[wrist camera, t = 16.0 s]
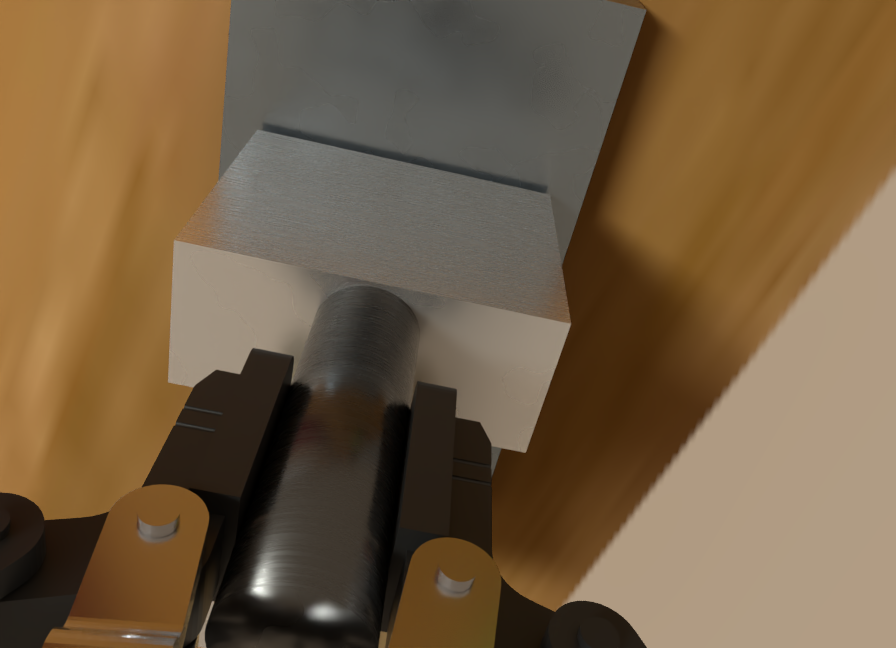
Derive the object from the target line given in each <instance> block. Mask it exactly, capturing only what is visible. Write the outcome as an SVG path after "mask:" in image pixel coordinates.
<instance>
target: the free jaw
mask: <svg viewBox="0 0 896 648" xmlns="http://www.w3.org/2000/svg"><path fill="white" fill-rule="evenodd" d="M570 326H571V319H570V313H569V307H568V301H567V295H566V289H565V283H564V277H563V271H562V265H561V259H560V253H559V246H558V240H557V234H556V228H555V222H554V216H553V210H552V204H551V198H550V194H545V193H541V192H536V191H532V190H527V189H523V188H518V187H514V186H509V185H505V184H500V183H496V182H491V181H487V180H482V179H478V178H474V177H469V176H465V175H460V174H456V173H451V172H447V171H442V170H438V169H433V168H429V167H424V166H420V165H415V164H411V163H406V162H402V161H397V160H393V159H388V158H384V157H379V156H375V155H370V154H366V153H361V152H357V151H352V150H348V149H343V148H339V147H334V146H330V145H326V144H321V143H317V142H312V141H308V140H303V139H299V138H294V137H290V136H285V135H281V134H276V133H272V132H267V131H263V130H257V131H256V132H255V134H254V135H253V136H252V138H251V139H250V140H249V142H248V143H247V144H246V146H245V147H244V148H243V149H242V151H241V152H240V153H239V155H238V156H237V157H236V159H235V160H234V161H233V163H232V164H231V165H230V167H229V168H228V169H227V171H226V172H225V173H224V175H223V176H222V177H221V179H220V180H219V181H218V183H217V184H216V185H215V187H214V188H213V189H212V191H211V192H210V193H209V195H208V196H207V197H206V199H205V200H204V201H203V202H202V204H201V205H200V206H199V208H198V209H197V210H196V212H195V213H194V214H193V216H192V217H191V218H190V220H189V221H188V222H187V224H186V225H185V226H184V228H183V229H182V230H181V232H180V233H179V234H178V236H177V237H176V238H175V240H174V253H173V277H172V302H171V326H170V350H169V374H168V382H169V383H174V384H179V385H185V386H190V387H194V386H195V385H196V384H197V383H199V382H200V381H201V380H203V379H204V378H205V377H207V376H208V375H210V374H211V373H212V372H214V371H215V370H221V371H226V372H231V373H236V374H240V373H241V371H242V369H243V367H244V365H245V362H246V360H247V358H248V356H249V353H250V351H251V350H252V348H257V349H262V350H267V351H272V352H277V353H282V354H287V355H292V356H294V366H293V373H292V380H291V386H290V389H289V392H288V395H287V398H286V401H285V403H284V406H283V409H282V412H281V415H280V418H279V420H278V423H277V426H276V429H275V432H274V435H273V438H272V440H271V443H270V446H269V449H268V452H267V455H266V457H265V460H264V463H263V466H262V469H261V472H260V474H259V477H258V480H257V483H256V486H255V489H254V492H253V494H252V497H251V500H250V503H249V506H248V509H247V511H246V514H245V517H244V520H243V523H242V526H241V528H240V531H239V534H238V537H237V540H236V543H235V545H234V548H233V551H232V553H231V556H230V559H229V562H228V565H227V568H226V570H225V573H224V576H223V579H222V582H221V585H220V587H219V590H218V593H217V596H216V599H215V602H214V604H213V607H212V610H211V613H210V616H209V619H208V622H207V624H206V628H205V643H206V648H378V647H379V639H380V632H381V624H382V617H383V609H384V602H385V594H386V587H387V579H388V568H389V560H390V553H391V546H392V538H393V531H394V523H395V516H396V509H397V501H398V494H399V486H400V479H401V472H402V464H403V457H404V449H405V442H406V435H407V427H408V420H409V412H410V407H411V403H412V399H413V395H414V391H415V387H416V383H417V381H420V382H425V383H430V384H435V385H440V386H445V387H450V388H455V389H457V400H456V417H457V418H462V419H467V420H472V421H477V422H480V423H481V425H482V427H483V429H484V430H485V432H486V434H487V436H488V438H489V440H490V442H491V444H492V446H494V447H499V448H504V449H509V450H514V451H519V452H524V453H526V450H527V448H528V445H529V442H530V439H531V436H532V433H533V431H534V428H535V425H536V422H537V419H538V416H539V414H540V411H541V408H542V405H543V402H544V399H545V397H546V394H547V391H548V388H549V385H550V382H551V380H552V377H553V374H554V371H555V368H556V366H557V363H558V360H559V357H560V354H561V351H562V349H563V346H564V343H565V340H566V337H567V334H568V332H569V329H570Z"/></svg>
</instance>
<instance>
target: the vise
mask: <svg viewBox="0 0 896 648" xmlns="http://www.w3.org/2000/svg"><path fill="white" fill-rule="evenodd" d="M645 13H646V9H645V8H644V6H643V5H642V4H641V3H640V2H639V0H231V14H230V28H229V42H228V56H227V70H226V84H225V98H224V112H223V126H222V140H221V154H220V169H219V180H220V179H221V177H222V176H223V175H224V173H225V172H226V171H227V169H228V168H229V167H230V165H231V164H232V163H233V161H234V160H235V159H236V157H237V156H238V155H239V153H240V152H241V151H242V149H243V148H244V147H245V146H246V144H247V143H248V142H249V140H250V139H251V138H252V136H253V135H254V134H255V132H256V131H257V130H263V131H267V132H272V133H276V134H281V135H285V136H290V137H294V138H299V139H303V140H308V141H312V142H317V143H321V144H326V145H330V146H334V147H339V148H343V149H348V150H352V151H357V152H361V153H366V154H370V155H375V156H379V157H384V158H388V159H393V160H397V161H402V162H406V163H411V164H415V165H420V166H424V167H429V168H433V169H438V170H442V171H447V172H451V173H456V174H460V175H465V176H469V177H474V178H478V179H482V180H487V181H491V182H496V183H500V184H505V185H509V186H514V187H518V188H523V189H527V190H532V191H536V192H541V193H545V194H550V198H551V204H552V210H553V216H554V222H555V228H556V234H557V240H558V246H559V253H560V259H561V265H562V264H563V261H564V258H565V255H566V252H567V249H568V246H569V243H570V240H571V237H572V234H573V231H574V228H575V225H576V222H577V219H578V216H579V213H580V209H581V206H582V203H583V200H584V197H585V194H586V191H587V188H588V185H589V182H590V179H591V176H592V173H593V170H594V167H595V164H596V161H597V158H598V155H599V152H600V149H601V146H602V143H603V140H604V137H605V134H606V131H607V128H608V125H609V122H610V119H611V116H612V113H613V110H614V107H615V104H616V101H617V98H618V95H619V92H620V89H621V86H622V83H623V80H624V77H625V74H626V71H627V68H628V65H629V62H630V59H631V56H632V53H633V50H634V47H635V43H636V40H637V37H638V34H639V31H640V28H641V25H642V22H643V19H644V16H645ZM500 451H501V448H499V447H494V446H492V465H491V469H492V475H493V472H494V469H495V466H496V463H497V460H498V457H499V454H500ZM213 604H214V601H212V603H211V606H210V609H209V611H208V614H207V617H206V620H205V623H204V625H203V628H202V630H201V632H200V635H199V643H198V647H204V648H206V643H205V628H206V624H207V622H208V619H209V616H210V613H211V610H212V607H213Z"/></svg>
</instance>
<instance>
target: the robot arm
mask: <svg viewBox="0 0 896 648" xmlns="http://www.w3.org/2000/svg"><path fill="white" fill-rule="evenodd" d="M293 366H294V356H292V355H287V354H282V353H277V352H272V351H267V350H262V349H257V348H252V350H251V351H250V353H249V356H248V358H247V360H246V362H245V365H244V367H243V369H242V371H241V373H240V374H236V373H231V372H226V371H221V370H215V371H214V372H212V373H211V374H210V375H208V376H207V377H205V378H204V379H203V380H201V381H200V382H199V383H197V384H196V385H195V386H194V388H193V390H192V392H191V394H190V396H189V398H188V400H187V402H186V404H185V407H184V409H182V411H181V413H180V415H179V417H178V419H177V421H176V425H175V426H174V427H173V428H172V430H171V432H170V434H169V436H168V438H167V440H166V442H165V444H164V446H163V448H162V450H161V452H160V453H159V455H158V457H157V459H156V461H155V463H154V465H153V467H152V469H151V471H150V473H149V475H148V477H147V478H146V480H145V482H144V484H143V486H142V487H141V488H138V489H135V490H133V491H131V492H129V493H127V494H126V495H124V496H123V497H121V498H120V499H119V500H118V501H117V502H116V503H115V504H114V505H113V507H112V508H111V510H110V511H109V512H106V513H104V514H100V515H96V516H91V517H83V518H71V519H56V520H44V517H43V514H42V511H41V510H40V509H39V507H38V506H37V505H36V504H35V503H34V502H32V501H31V500H29V499H27V498H25V497H22V496H20V495H16V494H11V493H0V648H198V643H199V635H200V632H201V630H202V628H203V625H204V623H205V620H206V617H207V614H208V611H209V609H210V606H211V603H212V601H214V602H215V599H216V596H217V593H218V590H219V587H220V585H221V582H222V579H223V576H224V573H225V570H226V568H227V565H228V562H229V559H230V556H231V553H232V551H233V548H234V545H235V543H236V540H237V537H238V534H239V531H240V528H241V526H242V523H243V520H244V517H245V514H246V511H247V509H248V506H249V503H250V500H251V497H252V494H253V492H254V489H255V486H256V483H257V480H258V477H259V474H260V472H261V469H262V466H263V463H264V460H265V457H266V455H267V452H268V449H269V446H270V443H271V440H272V438H273V435H274V432H275V429H276V426H277V423H278V420H279V418H280V415H281V412H282V409H283V406H284V403H285V401H286V398H287V395H288V392H289V389H290V386H291V380H292V373H293ZM456 400H457V389H455V388H450V387H445V386H440V385H435V384H430V383H425V382H420V381H417V383H416V387H415V391H414V395H413V399H412V403H411V407H410V412H409V420H408V427H407V435H406V442H405V449H404V457H403V464H402V472H401V479H400V486H399V494H398V501H397V509H396V516H395V523H394V531H393V538H392V546H391V553H390V560H389V568H388V579H387V587H386V594H385V602H384V609H383V617H382V624H381V631H382V632H387V637H386V645H385V648H647V647H646V646H645V645H644V643H643V642H642V640H641V639H640V637H639V636H638V634H637V633H636V632H635V630H634V629H633V628H632V626H631V625H630V624H629V623H628V622H627V621H626V620H625V619H624V618H623V617H622V616H621V615H619V614H618V613H617V612H615V611H613V610H612V609H610V608H608V607H606V606H603V605H601V604H598V603H594V602H589V601H575V602H570V603H567V604H565V605H563V606H561V607H560V608H559V609H558V610H557V611H556V612H554V611H552V610H550V609H548V608H545V607H543V606H541V605H539V604H537V603H535V602H533V601H531V600H529V599H527V598H525V597H524V596H522V595H520V594H519V593H518V592H516V591H515V590H514V589H513V588H511V587H510V586H509V585H508V584H507V583H506V582H505V580H504V579H503V578H502V577H501V575H500V572H499V569H498V567H497V565H496V564H495V562H494V560H493V557H492V487H491V483H492V469H491V465H492V444H491V442H490V440H489V438H488V436H487V434H486V432H485V430H484V429H483V427H482V425H481V423H480V422H477V421H472V420H467V419H462V418H457V417H456Z"/></svg>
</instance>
